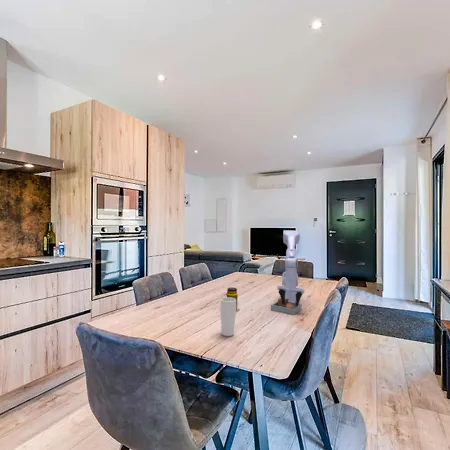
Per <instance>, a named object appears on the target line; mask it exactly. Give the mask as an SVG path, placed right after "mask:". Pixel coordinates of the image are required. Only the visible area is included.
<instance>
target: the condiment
mask: <svg viewBox="0 0 450 450" xmlns="http://www.w3.org/2000/svg"><path fill="white" fill-rule="evenodd" d="M238 294H239V293H238V289H237V288H236V287H228V288H227V292H226V297H230V298H235V299H236V312H238V311H239V310H241V309H240V308H238V296H239V295H238ZM226 297H225V298H226Z"/></svg>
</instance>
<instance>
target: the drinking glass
mask: <svg viewBox="0 0 450 450" xmlns="http://www.w3.org/2000/svg"><path fill="white" fill-rule="evenodd" d="M219 311H220V325H221V328H220V329H221V335H222V336H223V337H232V336H234V334H235V324H236V323H235V322H236V314H237V311H236V299H235V298H230V297H222V298H220V309H219Z"/></svg>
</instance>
